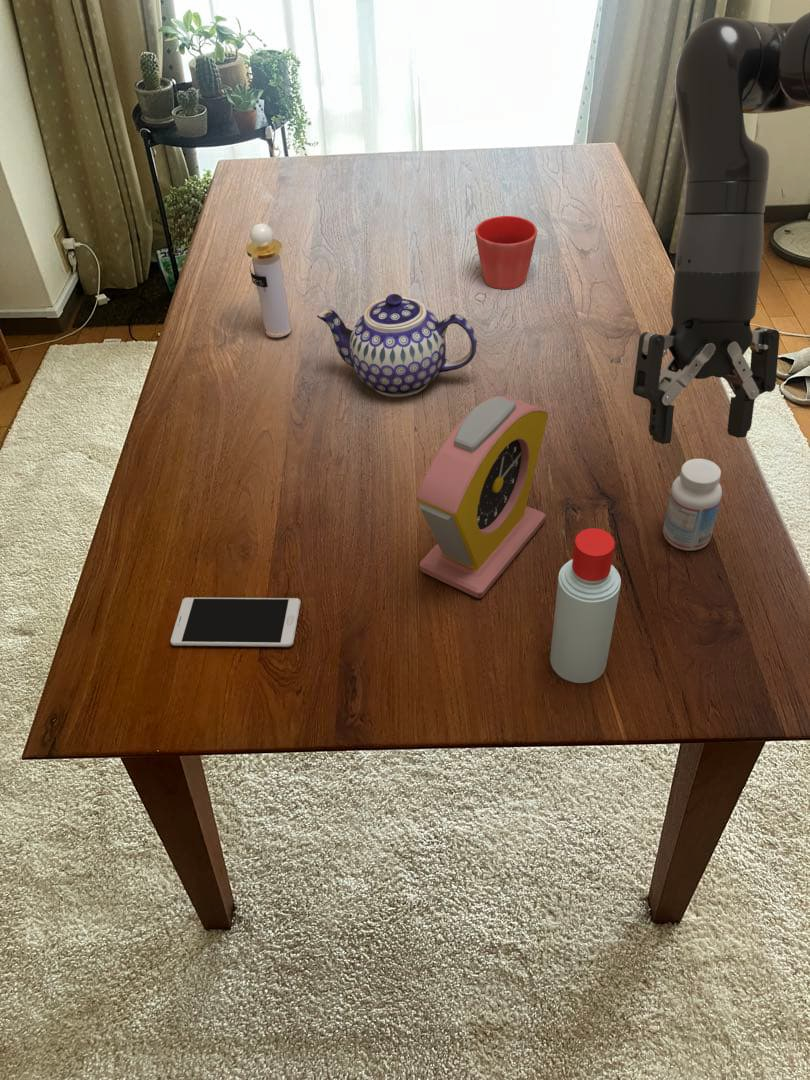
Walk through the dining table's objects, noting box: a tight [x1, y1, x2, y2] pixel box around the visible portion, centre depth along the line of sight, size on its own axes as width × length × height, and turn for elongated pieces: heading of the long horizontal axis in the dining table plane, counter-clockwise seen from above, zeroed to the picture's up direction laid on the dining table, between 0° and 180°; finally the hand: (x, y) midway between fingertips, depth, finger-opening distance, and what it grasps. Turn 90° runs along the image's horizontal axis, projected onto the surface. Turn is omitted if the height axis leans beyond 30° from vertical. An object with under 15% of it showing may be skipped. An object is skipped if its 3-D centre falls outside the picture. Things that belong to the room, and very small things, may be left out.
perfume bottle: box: [245, 222, 292, 338], centre depth 148 cm, size 6×6×20 cm
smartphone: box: [169, 596, 302, 648], centre depth 109 cm, size 8×1×15 cm
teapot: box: [316, 293, 478, 398], centre depth 139 cm, size 25×15×15 cm, turn 76°
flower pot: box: [474, 215, 538, 290], centre depth 161 cm, size 11×11×10 cm
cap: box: [572, 527, 616, 581], centre depth 90 cm, size 4×4×4 cm
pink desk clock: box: [416, 395, 549, 599], centre depth 109 cm, size 22×9×22 cm, turn 145°
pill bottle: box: [662, 458, 723, 552], centre depth 112 cm, size 6×6×11 cm
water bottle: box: [549, 558, 622, 684], centre depth 96 cm, size 6×6×19 cm
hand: (699, 438), depth 88 cm, fingers open, 8 cm apart
